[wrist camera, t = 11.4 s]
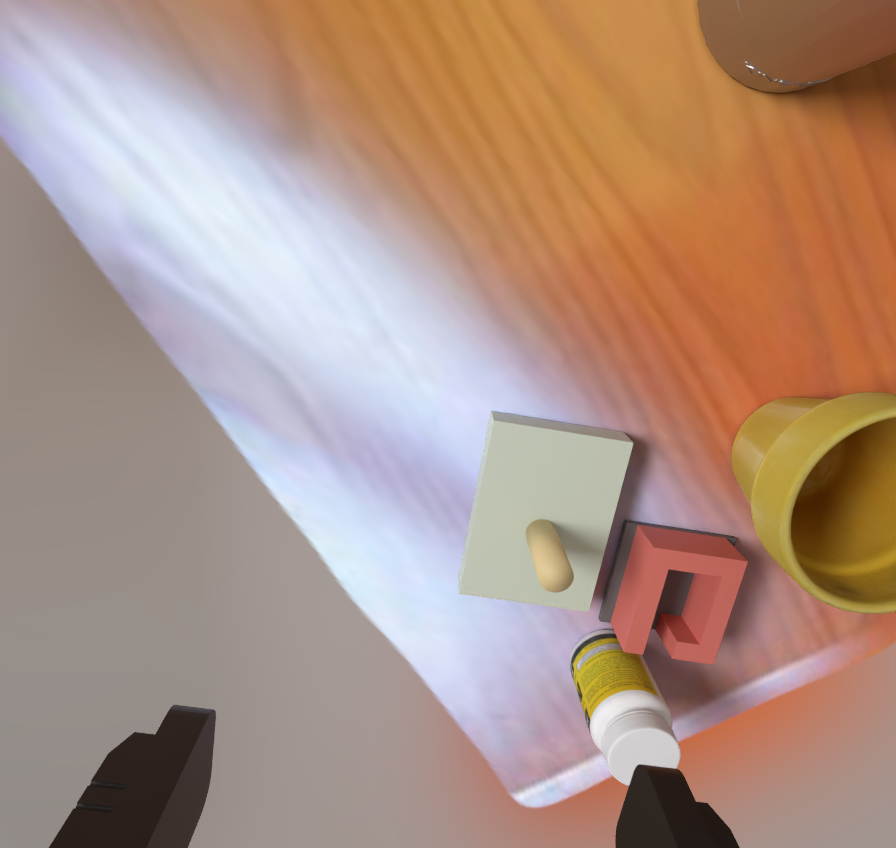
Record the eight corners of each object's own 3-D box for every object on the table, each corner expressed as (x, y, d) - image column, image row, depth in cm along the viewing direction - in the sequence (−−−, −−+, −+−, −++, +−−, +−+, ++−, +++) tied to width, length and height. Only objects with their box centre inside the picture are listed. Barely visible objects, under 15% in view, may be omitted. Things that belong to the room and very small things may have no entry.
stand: (490, 410, 37) (503, 449, 30) (623, 432, 38) (664, 474, 31) (458, 576, 40) (463, 645, 33) (581, 594, 41) (610, 665, 34)
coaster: (625, 519, 39) (627, 522, 39) (733, 536, 40) (736, 539, 39) (598, 617, 41) (599, 621, 41) (701, 632, 42) (704, 635, 41)
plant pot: (722, 352, 36) (822, 392, 27) (893, 375, 37) (1050, 422, 28) (679, 516, 39) (756, 604, 30) (839, 535, 40) (964, 627, 30)
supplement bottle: (553, 655, 42) (582, 755, 34) (611, 614, 41) (654, 706, 33) (597, 700, 43) (635, 807, 35) (654, 661, 42) (705, 761, 34)
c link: (637, 524, 39) (653, 547, 36) (725, 537, 39) (747, 561, 36) (610, 622, 41) (623, 652, 38) (694, 634, 41) (713, 664, 38)
